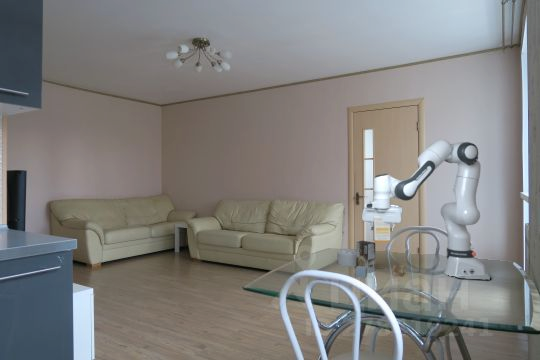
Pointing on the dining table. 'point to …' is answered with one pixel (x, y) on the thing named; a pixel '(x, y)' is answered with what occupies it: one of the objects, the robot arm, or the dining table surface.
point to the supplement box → (381, 230)
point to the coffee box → (365, 255)
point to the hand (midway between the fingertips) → (381, 230)
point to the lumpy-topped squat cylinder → (347, 257)
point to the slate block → (361, 271)
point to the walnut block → (398, 270)
